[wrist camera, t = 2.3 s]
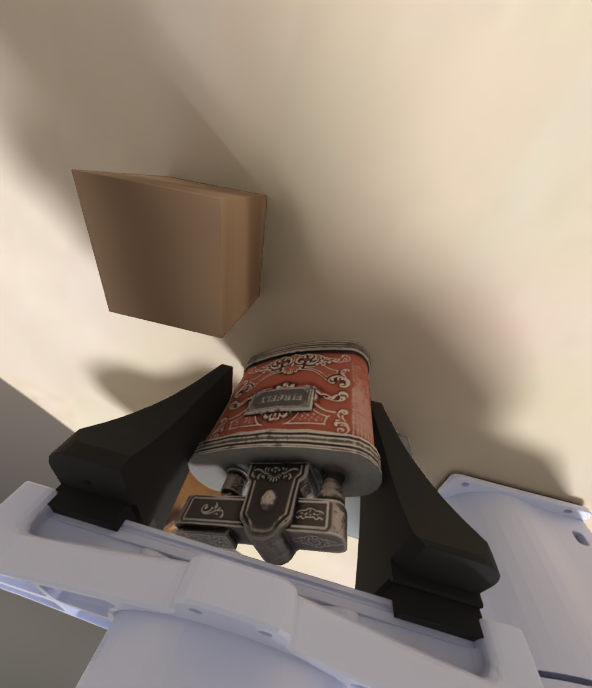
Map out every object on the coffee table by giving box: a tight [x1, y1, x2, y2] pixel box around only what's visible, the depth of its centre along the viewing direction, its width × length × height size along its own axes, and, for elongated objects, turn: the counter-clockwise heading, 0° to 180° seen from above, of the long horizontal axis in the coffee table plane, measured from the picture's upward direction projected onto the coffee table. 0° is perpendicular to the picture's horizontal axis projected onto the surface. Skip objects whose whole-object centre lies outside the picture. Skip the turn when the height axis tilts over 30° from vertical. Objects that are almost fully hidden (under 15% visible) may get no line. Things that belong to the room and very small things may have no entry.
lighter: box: [174, 341, 382, 565], centre depth 12 cm, size 8×3×10 cm, turn 107°
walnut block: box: [72, 170, 267, 338], centre depth 11 cm, size 5×5×5 cm
